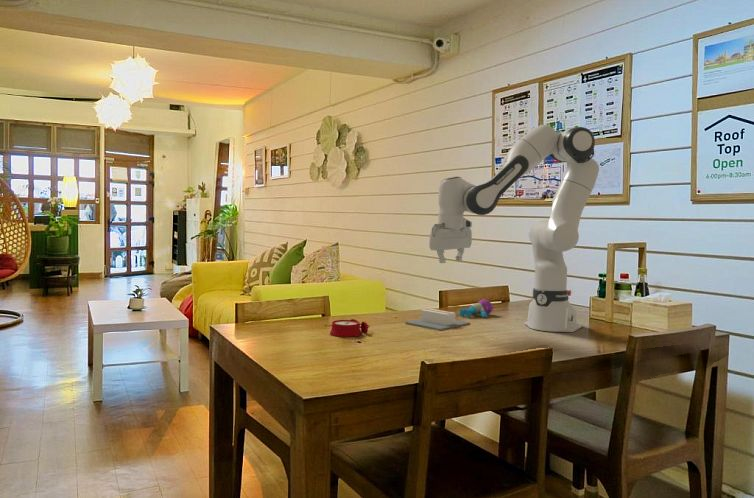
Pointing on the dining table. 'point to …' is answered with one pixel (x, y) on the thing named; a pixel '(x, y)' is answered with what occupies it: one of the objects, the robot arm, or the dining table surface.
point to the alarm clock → (348, 328)
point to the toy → (478, 309)
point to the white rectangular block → (438, 316)
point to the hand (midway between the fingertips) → (450, 262)
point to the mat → (436, 326)
